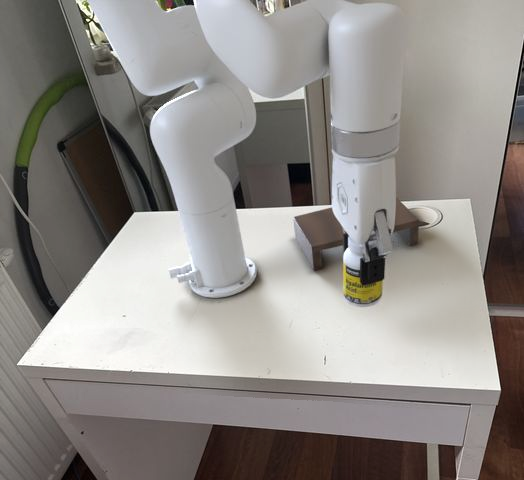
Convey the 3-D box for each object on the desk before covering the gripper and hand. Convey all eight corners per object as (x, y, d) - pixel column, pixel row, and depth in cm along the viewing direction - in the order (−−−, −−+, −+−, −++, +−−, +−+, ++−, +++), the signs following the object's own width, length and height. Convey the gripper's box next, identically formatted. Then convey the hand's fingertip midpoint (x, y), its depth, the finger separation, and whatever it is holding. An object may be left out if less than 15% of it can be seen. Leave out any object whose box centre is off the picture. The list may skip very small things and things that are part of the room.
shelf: (313, 270, 94) (311, 246, 91) (295, 239, 103) (292, 215, 100) (417, 244, 96) (419, 218, 92) (390, 215, 105) (391, 191, 101)
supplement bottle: (339, 306, 73) (338, 246, 67) (347, 283, 77) (347, 224, 70) (378, 310, 72) (381, 249, 65) (385, 287, 75) (388, 227, 68)
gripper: (310, 118, 64) (317, 244, 77) (361, 174, 52) (360, 313, 64) (367, 105, 65) (365, 232, 77) (432, 158, 53) (417, 299, 65)
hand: (363, 268), depth 71 cm, fingers closed on supplement bottle, 5 cm apart
